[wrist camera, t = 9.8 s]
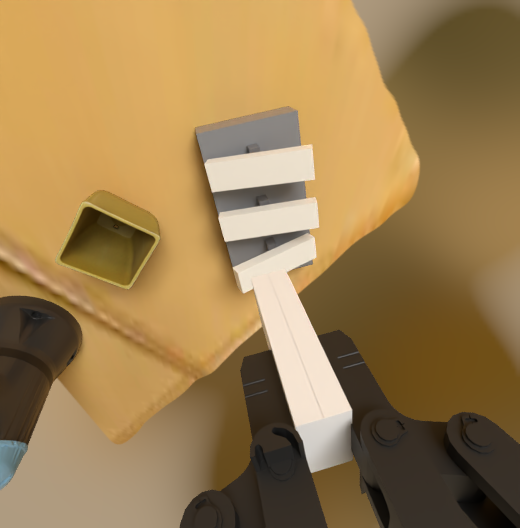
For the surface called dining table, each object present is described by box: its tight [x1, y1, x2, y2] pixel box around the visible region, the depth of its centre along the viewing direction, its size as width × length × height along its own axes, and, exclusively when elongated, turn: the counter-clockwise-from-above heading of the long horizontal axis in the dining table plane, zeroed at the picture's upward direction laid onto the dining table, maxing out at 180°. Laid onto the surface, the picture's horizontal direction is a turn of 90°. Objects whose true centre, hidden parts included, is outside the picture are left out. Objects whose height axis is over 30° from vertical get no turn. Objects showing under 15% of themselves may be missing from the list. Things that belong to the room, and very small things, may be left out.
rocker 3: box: [233, 233, 316, 294], centre depth 44 cm, size 12×3×2 cm, turn 100°
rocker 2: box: [218, 197, 319, 242], centre depth 40 cm, size 12×3×2 cm, turn 100°
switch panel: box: [195, 106, 313, 270], centre depth 44 cm, size 12×22×6 cm, turn 10°
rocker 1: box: [204, 144, 315, 192], centre depth 36 cm, size 12×3×2 cm, turn 100°
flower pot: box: [55, 190, 160, 289], centre depth 40 cm, size 9×9×9 cm
